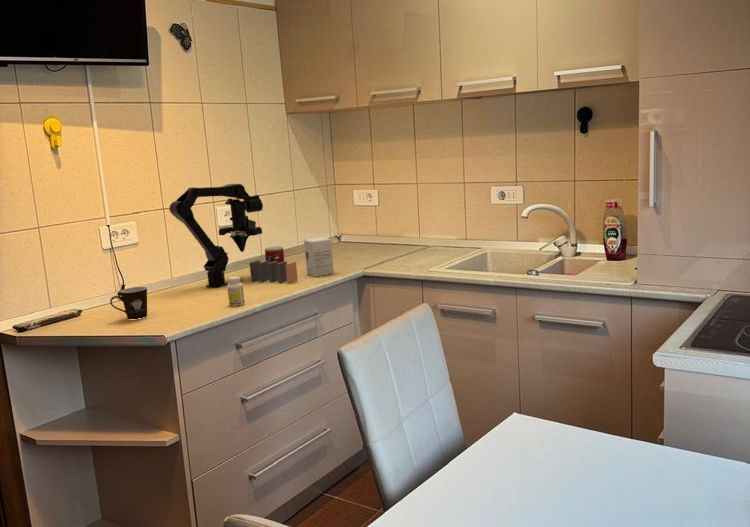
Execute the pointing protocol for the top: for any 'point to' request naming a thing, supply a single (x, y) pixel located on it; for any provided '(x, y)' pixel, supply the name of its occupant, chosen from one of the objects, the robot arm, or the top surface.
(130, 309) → the coffee mug
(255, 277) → the domino
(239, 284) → the supplement bottle
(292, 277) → the domino
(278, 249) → the canned food
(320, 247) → the supplement box
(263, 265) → the domino
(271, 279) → the domino
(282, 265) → the domino
